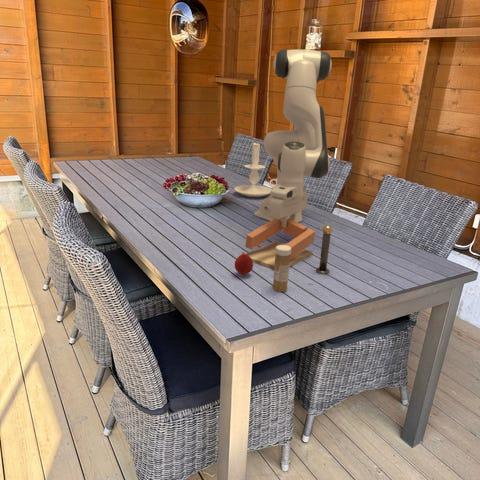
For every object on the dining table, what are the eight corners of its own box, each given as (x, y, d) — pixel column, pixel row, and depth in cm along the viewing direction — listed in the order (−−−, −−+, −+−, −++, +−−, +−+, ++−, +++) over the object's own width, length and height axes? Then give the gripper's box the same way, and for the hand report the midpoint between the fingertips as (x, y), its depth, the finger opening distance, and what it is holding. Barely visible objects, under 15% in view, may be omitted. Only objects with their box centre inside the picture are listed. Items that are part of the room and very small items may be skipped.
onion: (251, 272, 148) (253, 249, 145) (252, 279, 143) (254, 255, 140) (233, 271, 148) (234, 248, 145) (234, 279, 142) (235, 255, 140)
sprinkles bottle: (271, 285, 139) (274, 244, 135) (286, 285, 140) (289, 244, 135) (273, 292, 135) (277, 249, 130) (288, 292, 135) (292, 250, 131)
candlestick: (286, 198, 241) (290, 145, 231) (243, 201, 231) (246, 145, 222) (268, 189, 258) (272, 139, 249) (228, 191, 249) (230, 139, 239)
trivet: (242, 258, 159) (242, 255, 158) (275, 243, 174) (276, 240, 174) (280, 271, 149) (280, 268, 149) (312, 254, 165) (312, 251, 165)
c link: (279, 225, 171) (281, 214, 169) (313, 242, 164) (315, 231, 161) (245, 246, 158) (246, 234, 155) (280, 266, 151) (282, 253, 148)
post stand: (313, 271, 151) (318, 225, 145) (319, 267, 154) (325, 222, 149) (325, 275, 148) (330, 228, 143) (331, 271, 152) (337, 225, 146)
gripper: (298, 183, 172) (295, 218, 176) (267, 191, 156) (264, 229, 161) (313, 186, 168) (309, 221, 173) (282, 195, 153) (279, 234, 158)
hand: (287, 225), depth 167 cm, fingers closed on c link, 3 cm apart
